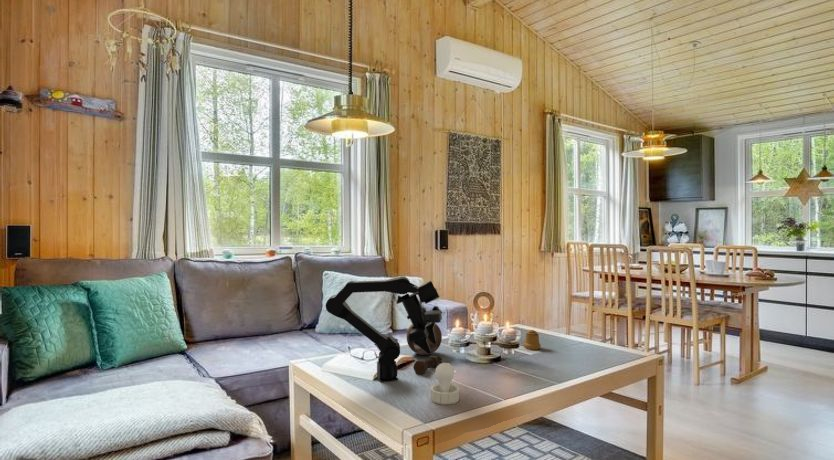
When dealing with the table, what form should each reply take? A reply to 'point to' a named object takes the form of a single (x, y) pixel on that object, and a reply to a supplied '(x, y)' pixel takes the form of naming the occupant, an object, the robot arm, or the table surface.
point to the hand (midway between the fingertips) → (432, 348)
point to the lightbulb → (444, 376)
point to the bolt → (426, 364)
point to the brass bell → (532, 340)
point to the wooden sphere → (432, 346)
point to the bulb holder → (444, 395)
